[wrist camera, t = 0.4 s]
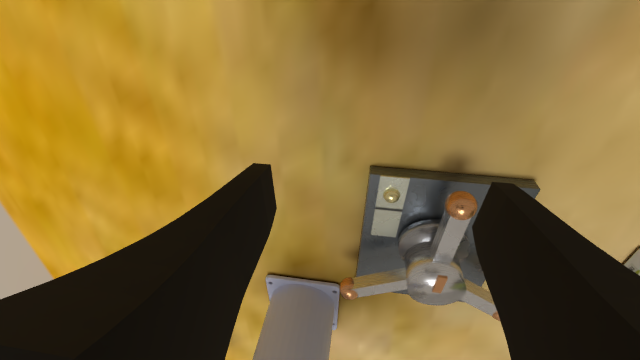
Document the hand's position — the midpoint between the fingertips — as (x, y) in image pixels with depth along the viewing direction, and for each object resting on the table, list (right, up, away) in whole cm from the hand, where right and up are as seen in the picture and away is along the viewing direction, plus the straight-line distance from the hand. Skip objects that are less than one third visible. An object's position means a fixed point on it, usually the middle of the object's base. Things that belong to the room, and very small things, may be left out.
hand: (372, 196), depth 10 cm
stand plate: (+7, -4, +15) cm, 17 cm away
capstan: (+7, -4, +13) cm, 15 cm away
